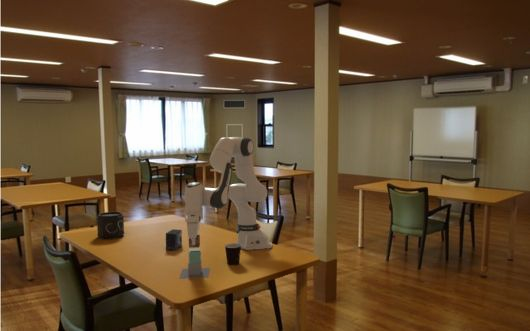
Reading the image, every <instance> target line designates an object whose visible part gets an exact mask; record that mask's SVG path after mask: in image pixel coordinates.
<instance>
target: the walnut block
mask: <svg viewBox="0 0 530 331" xmlns="http://www.w3.org/2000/svg"><path fill="white" fill-rule="evenodd" d="M200 246H201V235H200V234H197V237H196V244H195V245H192V240H191V239H189V238H188V248H189V249H196V248H200Z"/></svg>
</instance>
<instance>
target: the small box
mask: <svg viewBox="0 0 530 331" xmlns="http://www.w3.org/2000/svg"><path fill="white" fill-rule="evenodd" d="M182 230H183V229H171V230H169V231H167V232H166V233H165V251H176V250H178V249H180V248H181V247H182V246H183V243H182V242H183V240H182V239H183V237H182V236H183V235H182V234H183V231H182Z"/></svg>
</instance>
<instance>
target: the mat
mask: <svg viewBox="0 0 530 331" xmlns="http://www.w3.org/2000/svg"><path fill="white" fill-rule="evenodd" d="M210 271H211V268H210V267H202V271H201V275H188V268H182V269H181V272H180V275H179V278H178V279H180V280H182V279H184V280H185V279H204V278H205V279H207V278H208V279H209V274H210Z"/></svg>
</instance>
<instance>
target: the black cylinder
mask: <svg viewBox="0 0 530 331" xmlns="http://www.w3.org/2000/svg"><path fill="white" fill-rule="evenodd" d="M124 217H125V216H124V214H123V212H121V211H105V212H102V213H98V216H96V220H97V224H96V226H97V228H96V229H97V237H98V238H99V239H100V238H102V239H101V240H114V239H113V238H116V239H119V238H118V237H120V238H122V237H124V234H125V222H124ZM121 236H122V237H121Z"/></svg>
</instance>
